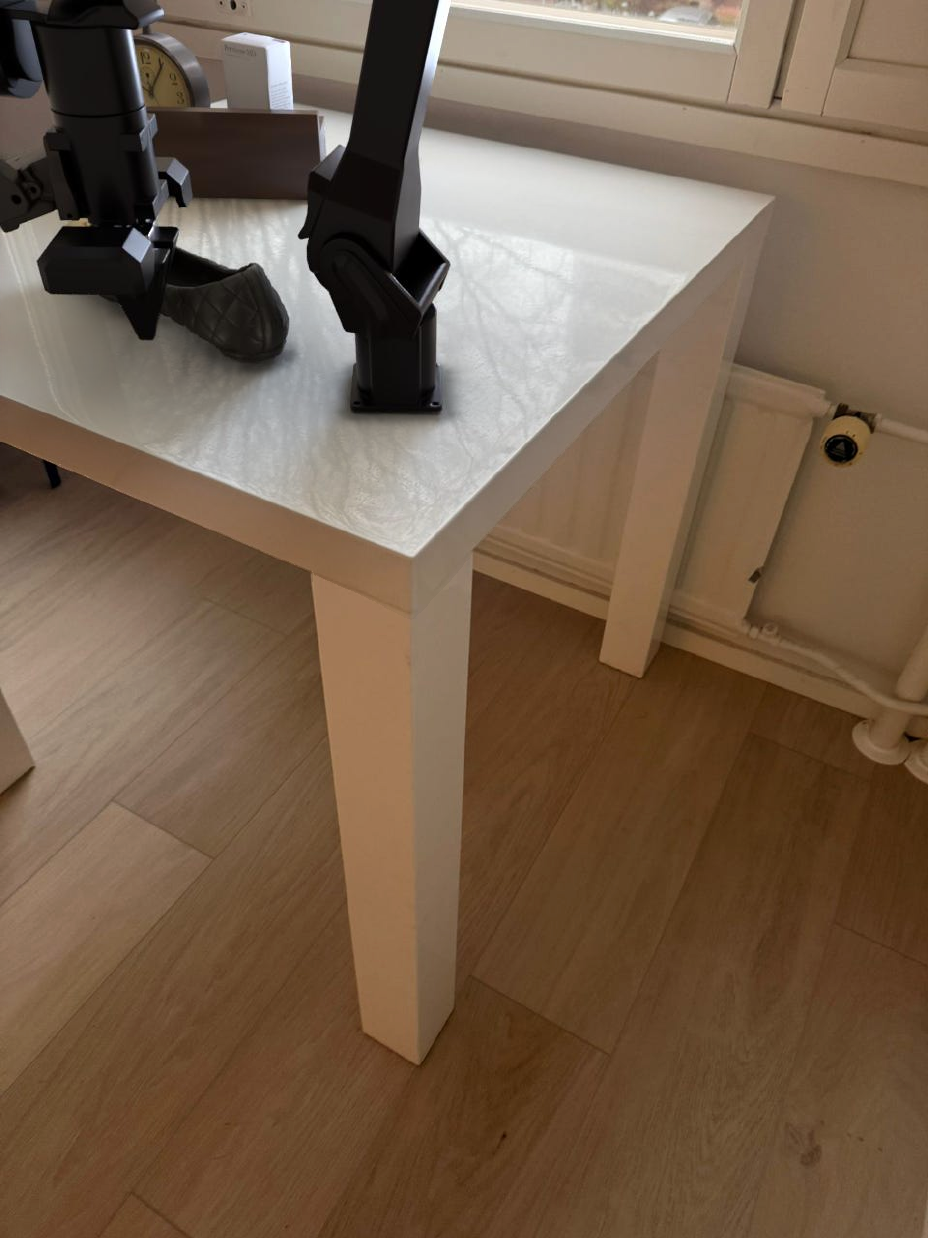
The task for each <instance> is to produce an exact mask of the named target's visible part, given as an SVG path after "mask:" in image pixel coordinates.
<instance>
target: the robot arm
mask: <svg viewBox="0 0 928 1238" xmlns="http://www.w3.org/2000/svg"><path fill="white" fill-rule="evenodd" d="M451 2H452V0H372V2H371V9H370V15H369V20H368V26H367V32H366V38H365V43H364V48H363V54H362V61H361V66H360V71H359V78H358V85H357V90H356V95H355V96H356V97H355V100H354V101H355V102H354V106H353V113H352V117H351V124H350V130H349V136H348V139H347V143H346V145H345V146H344V145H342V144H338V145H337V146H336V147H335V148H334V149H333V150H331V152H330V153H328V154H327V155H326V158H325V159H323V160H322V161H321V162H320V163H319V164H318V165H317V166H316V167H315V168H314V169H313V170H312V171H311V172H310V173H309V178H308V186H307V199H306V200H307V201H306V202H307V203H306V204H307V207H306V208H307V209H306V216H305V219H304V223H303V226H302V227H301V228H300V230H299V232H298V234H297V238H298V240H307V243H306V262H307V265H308V266H307V267H308V269H309V271H310V273H312V274H313V275H314V276H315V279H316V280H317V282H318V283H319V285H320V286H322V288H323V289H325V290H326V291H327V292H328V294H329V297H330V299H331V303H332V304H333V307H334V309H335V312H336V314H337V316H338V319H339V321H340V323H341V326H342V329H343V331H344V332H345V333H347V334H348V333H349V334H354V348H355V349H354V350H355V362H354V363H353V366H352V375H351V386H350V398H349V409H350V411H352V412H355V413H440V412H442V411H443V389H442V388H443V387H442V371H441V369H442V367H441V364H440V363H437V336H438V335H437V333H438V332H437V330H438V329H437V328H438V327H437V326H438V325H437V324H438V321H437V320H438V311H437V306H436V305H435V303H434V302H433V301H434V300H435V298H436V296H437V294H438V293H439V292H440V291H441V290H442V288H443V286H444V284H445V281H446V279H447V276H448V274H449V270H450V268H451V262H450V260H449V259H448V258H447V256H445V254H443V252H442V251H441V250H440V249H439V248H438V246H436V244H435V243H434V242H433V241H432V240H431V238H430V237H429V236H428V235H427V234H426V233H425V232H424V230H423V229H422V228H421V227H420V221H421V220H420V219H421V218H420V217H421V206H422V205H421V204H422V203H421V201H422V180H421V178H422V177H421V168H420V155H419V154H420V153H419V151H420V150H419V148H420V140H421V135H422V132H423V128H424V127H423V126H424V122H425V118H426V113H427V109H428V105H429V100H430V96H431V91H432V87H433V82H434V78H435V74H436V69H437V66H438V65H437V64H438V61H439V56H440V51H441V47H442V42H443V39H444V34H445V29H446V26H447V20H448V15H449V12H450V7H451ZM164 16H165V12H164V9H163V7H162V6H161V5H160V4H159V3H158V4H157V3H156V2H155V1H154V0H50V1H49V0H0V97H2V98H10V99H11V98H13V99H21V100H22V99H23V100H24V99H25V100H26V99H30V98H33V97H34V96H35V95H36V94H37V93H38V92H39V90H40V89H41V86H42V85H43V84H44V88H45V92H46V97H47V100H48V105H49V108H50V113H51V118H52V121H53V125H51V126H50V127H49V128H48V129H47V130H46V131H45V134H44V135H43V137H42V143H43V145H41V146H38V147H36V148H34V149H31V150H29V151H26V152H23V153H22V154H18V155H16V156H15V157H14V156H13V157H10V158H9V159H6V160H4V159H2V158H0V229H1V230H2V232H3V233H6V234H7V233H11V232H14V231H16V230H18V229H19V228H20V226H21V225H23V224H25V223H28V222H30V221H32V220H35V219H38V218H40V217H44V216H46V215H48V214H50V213H52V212H54V211H55V212H56V210H57V214H58V218H59V221H62V222H63V221H65V222H66V221H68V222H71V221H78V220H80V218H87V219H88V223H90V225H89V226H66V225H62V226H61V228H59V230H58V232H57V233H56V234H55V235H54V237H53V238H52V239H51V241H50V242H49V243H48V245H47V246H46V247H45V249H44V250H43V251H42V253H41V254H40V256H39V257H38V258H37V259H36V265H37V269H38V272H39V275H40V279H41V282H42V283H41V284H42V286H43V290H44V292H46V293H47V294H49V295H62V296H63V295H67V296H73V295H74V296H99V295H114V296H115V297H116V299H117V301H118V303H119V304H120V305H119V304H118V305H119V306H120V308H121V309H122V311H123V313H124V315H125V317H126V318H127V321H128V322H129V324H130V326H131V328H132V330H133V331H134V333H135V334H136V336H137V338H138V339H139V340H140V341H154V340H155V338H156V335H157V331H158V327H159V322H160V317H161V309H162V304H163V300H164V295H165V291H166V287H167V282H168V278H169V273H170V269H171V265H172V260H173V256H174V252H175V247H176V246H177V242H178V238H179V236H180V228H179V227H177V226H173V225H170V226H169V225H167V226H166V225H159V222H158V216H159V215H160V213H161V211H162V209H163V207H164V205H165V203H166V201H167V200H168V198H169V197H168V196H175V197H174V200H175V202H176V204H177V206H178V208H181V209H187V208H188V206H190V205H189V204H190V202H191V201H192V198H193V197H192V196H193V195H192V189H191V183H190V176H189V171H188V170H187V169H186V168H185V167H184V166H183V165H182V164H181V163H180V162H179V161H178V160H176V159H175V158H174V157H155V155H154V150H153V144H152V138H153V137H154V135H155V134H156V132H157V131H158V129H157V123H156V117H155V114H151V113H147V111H146V105H145V100H144V95H143V89H142V84H141V78H140V73H139V67H138V62H137V56H136V50H135V45H134V39H133V35H134V33H133V31H137V30H140V29H142V27H145V26H147V25H150V26H151V25H153V24H155V23H157V22H160V21H162V20H163V19H164Z"/></svg>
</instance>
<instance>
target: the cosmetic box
mask: <svg viewBox="0 0 928 1238" xmlns="http://www.w3.org/2000/svg"><path fill="white" fill-rule="evenodd" d="M220 48H221V58H222V68H223V76H224V77H223V78H224V85H225V96H226V108H240V109H282V110H294V101H293V97H294V96H293V82H292V81H293V80H292V65H291V62H292V61H291V44H290V41H287V40H283V39H279V38H275V37H272V36H268V35H261V34H256V33H251V32H246V31H245V32H240V33H237V34H233V35H230V36H226V37H224V38H221V39H220Z"/></svg>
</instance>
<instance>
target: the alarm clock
mask: <svg viewBox="0 0 928 1238" xmlns="http://www.w3.org/2000/svg"><path fill="white" fill-rule="evenodd" d="M154 1H155V2H156V3H157V4H158V5H159V3H158V2H159V1H158V0H154ZM141 29H142V31H141V33H137V34H133V39H134V45H135V50H136V56H137V62H138V67H139V73H140V78H141V84H142V89H143V95H144V100H145V105H146V106H157V107H198V108H211V107H212V106H211V104H212V103H211V93H210V87H209V83H208V79H207V77H206V75H205V72H204V69H203V68H202V66H201V65H200V63H199V61H198V60H197V58H196V57H195V56H194V54H193V53H192V52H191V51H190V50H189V49H188V47H187V46H185V45H184V44H183V43H182V42H181V41H180V40H178V39H176V38H175V37H173V36H171V35H168V34H166V33H162V32H160V31H159V32H158V31H152V28H151V24H150V25H147V26H145V27H142V28H141Z"/></svg>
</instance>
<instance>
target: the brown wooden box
mask: <svg viewBox="0 0 928 1238" xmlns="http://www.w3.org/2000/svg"><path fill="white" fill-rule="evenodd" d="M146 111H147V113H151V114H155V117H156V123H157V129H158V131H157V132H156V134H155V135H154V137H153V138H152V144H153V150H154V155H155V157H174V158H175V159H176V160H178V161H179V162H180V163H181V164H182V165H183V166H184V167H185V168H186V169H187V170H188V171H189V176H190V183H191V189H192V195H193V196H192V198H227V199H275V200H276V199H278V200H279V199H280V200H284V199H285V200H307V186H308V178H309V173H310V172H311V171H312V170H313V169H314V168H315V167H316V166H317V165H318V164H319V163H320V162H321V161H322V160H323V159H325V158H326V157H327V143H326V142H327V141H326V130H325V129H326V128H325V127H326V126H325V116H324V115H320V113H319V110H317V109H293V110H282V109H240V108H228V107H210V108H198V107H157V106H146ZM169 197H173V198H175V196H168V198H169Z"/></svg>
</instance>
